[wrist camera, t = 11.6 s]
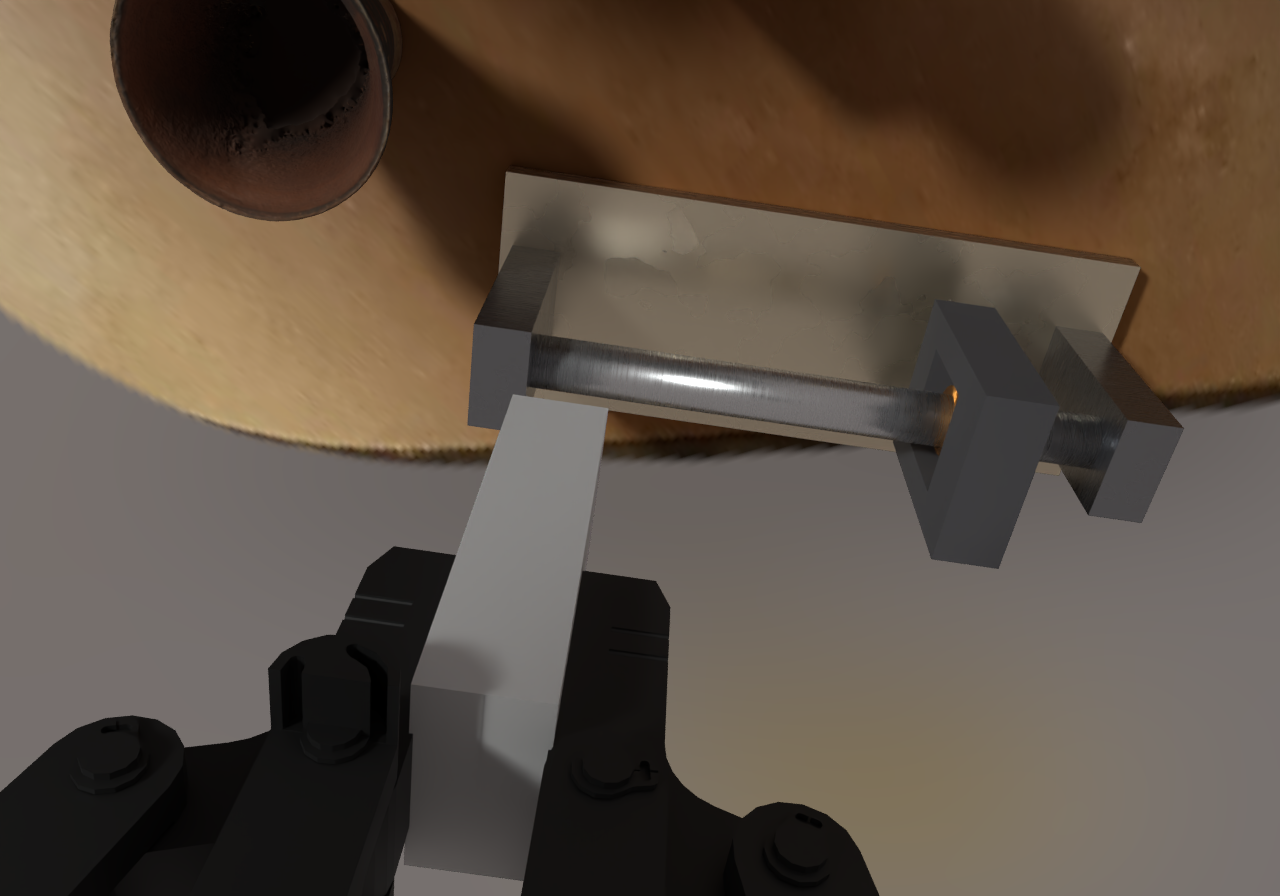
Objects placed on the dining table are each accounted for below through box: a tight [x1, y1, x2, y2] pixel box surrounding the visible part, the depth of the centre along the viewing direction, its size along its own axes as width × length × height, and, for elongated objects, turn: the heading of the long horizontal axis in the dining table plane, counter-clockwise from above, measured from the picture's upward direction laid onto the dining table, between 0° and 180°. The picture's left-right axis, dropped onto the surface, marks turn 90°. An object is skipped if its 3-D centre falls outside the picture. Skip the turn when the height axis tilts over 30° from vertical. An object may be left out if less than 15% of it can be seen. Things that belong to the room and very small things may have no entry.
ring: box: [893, 299, 1060, 569], centre depth 39 cm, size 2×6×8 cm, turn 172°
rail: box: [468, 165, 1184, 523], centre depth 41 cm, size 26×10×10 cm, turn 82°
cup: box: [110, 0, 402, 221], centre depth 37 cm, size 9×9×10 cm
